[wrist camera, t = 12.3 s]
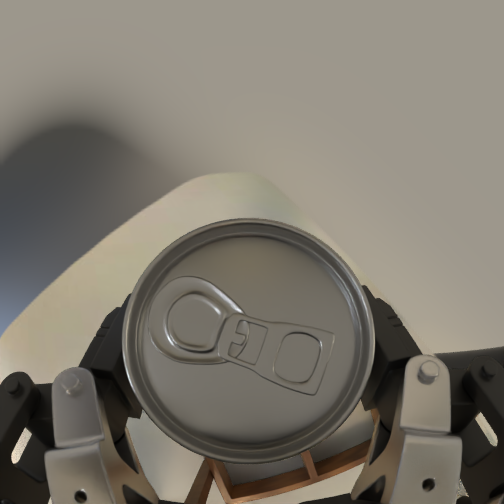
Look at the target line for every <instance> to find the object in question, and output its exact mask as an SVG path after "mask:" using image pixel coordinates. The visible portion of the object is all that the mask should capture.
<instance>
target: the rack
mask: <svg viewBox="0 0 504 504" xmlns="http://www.w3.org/2000/svg"><path fill="white" fill-rule="evenodd" d="M371 413H372V417H373V421H374V425H375V423H376V420H377V418H378V416H379V412H378V410H377V408H376V409H371ZM370 443H371V439H370V440H368V441H366V442H364V443H362V444H359V445H357V446H355V447H353V448H351V449H349V450H346V451H344V452H342V453H339V454H337V455H335V456H332V457H330V458H327V459H325V460H322V461H319V462H317V463H313V460H312V457H311V454H310V451H309V450H307V451H305V452H303V453H301V454H300V455H301V458H302V461H303V463H304V466H305V467H303V468H300V469H297V470H293V471H290V472H287V473H284V474H280V475H277V476H273V477H269V478H266V479H262V480H257V481H253V482H249V483H244V484H239V485H234V486H233V484H232V482H231V479H230V477H229V475H228V473H227V470H226V468H225V465H224V463H223V462H221V461H217V460H213V459H210V458H207V457H205V459H206V460H204V461H203V463H202V465H201V467H200V470H199V472H198V474H197V476H196V479H195V481H194V483H193V485H192V487H191V489H190V492H189V494H188V496H187V498H186V500H185V502H184V503H187V504H206V501H207V498H208V494H209V491H210V488H211V485H212V481H213V478H214V480H215V482H216V484H217V486H218V488H219V490H220V493H221V495H222V497H223V499H224V501H225V503H226V504H238V503H243V502H248V501H253V500H258V499H262V498H266V497H270V496H274V495H278V494H282V493H285V492H289V491H292V490H295V489H298V488H302V487H305V486H308V485H311V484H313V483H316V482H319V481H322V480H324V479H327V478H330V477H332V476H335V475H337V474H339V473H342V472H344V471H347V470H349V469H351V468H353V467H355V466H358V465H360V464H362V463H364V462H365V461H366V457H367V454H368V450H369V447H370Z"/></svg>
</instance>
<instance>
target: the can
mask: <svg viewBox="0 0 504 504" xmlns="http://www.w3.org/2000/svg"><path fill="white" fill-rule="evenodd" d="M122 352H123V360H124V366H125V370H126V374H127V377H128V380H129V383H130V386H131V388H132V390H133V392H134V395H135V397H136V398H137V400H138V402H139V404H140V405H141V407H142V408H143V410H144V411H145V413H146V414H147V415H148V417H149V418H150V419H151V420H152V421H153V422H154V424H155V425H156V426H157V427H158V428H159V429H160V430H161V431H163V432H164V433H165V434H166V435H167V436H168V437H170V438H171V439H172V440H174V441H175V442H177V443H178V444H180V445H181V446H183V447H185V448H186V449H188V450H190V451H192V452H194V453H197V454H199V455H201V456H204V457H207V458H210V459H213V460H217V461H221V462H226V463H233V464H248V465H249V464H265V463H271V462H276V461H281V460H284V459H288V458H291V457H294V456H296V455H299V454H301V453H303V452H305V451H307V450H309V449H311V448H313V447H315V446H316V445H318V444H319V443H321V442H322V441H324V440H325V439H326V438H328V437H329V436H330V435H331V434H333V433H334V432H335V431H336V430H337V429H338V428H339V427H340V426H341V425H342V424H343V423H344V422H345V421H346V419H347V418H348V417H349V416H350V414H351V413H352V412H353V410H354V409H355V407H356V406H357V404H358V402H359V401H360V399H361V397H362V395H363V393H364V391H365V389H366V386H367V383H368V381H369V378H370V374H371V371H372V366H373V361H374V353H375V330H374V322H373V317H372V312H371V309H370V305H369V302H368V299H367V297H366V294H365V292H364V290H363V288H362V286H361V284H360V282H359V280H358V279H357V277H356V276H355V274H354V273H353V271H352V270H351V268H350V267H349V266H348V265H347V263H346V262H345V261H344V260H343V259H342V258H341V257H340V256H339V255H338V254H337V253H336V252H335V251H334V250H333V249H332V248H330V247H329V246H328V245H327V244H325V243H324V242H323V241H321V240H320V239H318V238H317V237H315V236H313V235H311V234H310V233H308V232H306V231H304V230H302V229H299V228H297V227H294V226H292V225H289V224H285V223H282V222H278V221H273V220H267V219H259V218H238V219H229V220H223V221H219V222H215V223H211V224H208V225H205V226H202V227H200V228H197V229H195V230H193V231H191V232H189V233H187V234H185V235H183V236H182V237H180V238H179V239H177V240H176V241H174V242H173V243H171V244H170V245H169V246H167V247H166V248H165V249H164V250H163V251H162V252H161V253H160V254H159V255H158V256H157V257H156V258H155V259H154V260H153V261H152V262H151V263H150V264H149V266H148V267H147V268H146V270H145V271H144V272H143V274H142V275H141V277H140V278H139V280H138V282H137V284H136V286H135V288H134V290H133V292H132V294H131V296H130V299H129V302H128V305H127V308H126V312H125V316H124V322H123V330H122Z"/></svg>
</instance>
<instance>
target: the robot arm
mask: <svg viewBox="0 0 504 504" xmlns="http://www.w3.org/2000/svg"><path fill="white" fill-rule="evenodd" d="M362 288H363V290H364V292H365V294H366V297H367V299H368V302H369V305H370V309H371V312H372V317H373V322H374V330H375V353H374V361H373V366H372V371H371V374H370V378H369V381H368V383H367V386H366V389H365V391H364V393H363V395H362V397H361V401H362V404H363V406H364V409H365V411H367V410H371V409H376V408H377V410H378V412H379V416H378V418H377V420H376V423H375V427H374V431H373V435H372V439H371V443H370V447H369V450H368V454H367V457H366V461H365V464H364V467H363V469H362V472H361V474H360V476H359V477H358V479H357V481H356V483H355V485H354V487H353V489H352V491H351V494H350V493H347V494H343V495H338V496H334V497H329V498H324V499H318V500H312V501H305V502H302V503H299V504H456V500H457V494H458V487H459V480H460V479H461V481H462V483H463V485H464V487H465V489H466V491H467V493H468V495H469V498H470V500H471V502H472V504H504V368H503V367H502V366H501V365H500V364H499V363H498V362H497V361H496V360H495V359H493V358H491V357H489V356H484V355H483V356H477V357H476V358H474V359H473V360H472V362H471V364H470V365H469V367H468V369H448V368H447V367H446V365H445V364H444V363H443V362H442V361H441V360H439V359H438V358H436V357H434V356H431V355H423V354H422V352H421V351H420V349H419V348H418V346H417V345H416V343H415V341H414V340H413V338H412V337H411V335H410V334H409V332H408V331H407V329H406V328H405V326H403V323H402V322H401V321H400V319H399V318H397V315H396V313H395V312H394V310H393V309H392V308H391V306H390V305H388V304H387V303H386V302H384V301H383V300H381V299H380V298H376V299H375V298H374V296H373V295H372V293H371V292H370V290H369V289H368V288H367V286H365V285H363V286H362ZM131 294H132V293H130V294H129V295H128V296H127V298H126V300H125V301H124V303H123V305H122V307H117V308H115V309H114V310H113V311H112V312H111V313H109V314H108V315H107V316H106V318H105V319H104V321H103V323H102V324H101V328H99V330H98V331H97V333H96V337H94V338H93V340H92V342H91V344H90V346H89V347H88V349H87V351H86V353H85V355H84V357H83V359H82V360H81V362H80V364H79V366H78V367H73V368H69V369H67V370H64V371H63V372H61V373H60V374H59V375H58V376H57V377H56V378H55V380H54V382H53V383H48V384H34V382H33V381H32V380H31V378H30V377H29V375H28V374H26V373H24V372H14V373H12V374H10V375H9V376H7V377H6V378H5V379H4V380H3V382H2V383H1V385H0V504H48V502H49V499H50V496H51V500H52V504H187V503H179V502H171V501H165V500H160V499H159V497H158V496H157V494H156V492H155V490H154V489H153V487H152V486H151V485H150V483H149V482H148V480H147V478H146V477H145V474H144V472H143V470H142V467H141V464H140V462H139V459H138V457H137V454H136V451H135V448H134V445H133V442H132V439H131V436H130V433H129V430H128V428H127V427H126V423H127V419H128V417H132V418H138V419H140V417H141V413H142V410H143V408H142V407H141V405H140V404H139V402H138V400H137V398H136V397H135V395H134V392H133V390H132V388H131V386H130V383H129V380H128V377H127V374H126V370H125V366H124V360H123V352H122V330H123V322H124V316H125V312H126V308H127V305H128V302H129V299H130V296H131ZM480 412H481V413H482V414H483V416H484V417H485V419H486V420H487V422H488V423H489V425H490V426H491V428H492V429H493V431H494V433H495V434H496V435H497V439H498V443H497V446H493V445H491V444H490V442H489V441H488V439H487V437H486V436H485V434H484V432H483V431H482V429H481V428H480V426H479V425H478V423H477V421H476V420H475V418H476V417H477V415H478V414H479V413H480ZM24 428H26V429H27V430H28V431H29V432H30V433H32V435H31V437H30V439H29V441H28V443H27V445H26V447H25V449H24V451H23V453H22V455H21V457H20V460H19V461H18V462H17V463H15V464H13V463H12V460H11V454H12V451H13V449H14V447H15V445H16V443H17V442H18V440H19V438H20V436H21V434H22V432H23V430H24Z"/></svg>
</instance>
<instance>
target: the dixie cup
mask: <svg viewBox="0 0 504 504" xmlns="http://www.w3.org/2000/svg"><path fill="white" fill-rule="evenodd" d="M456 504H472V502H471V500H470V498H469V497H467V496H457V500H456Z"/></svg>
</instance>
